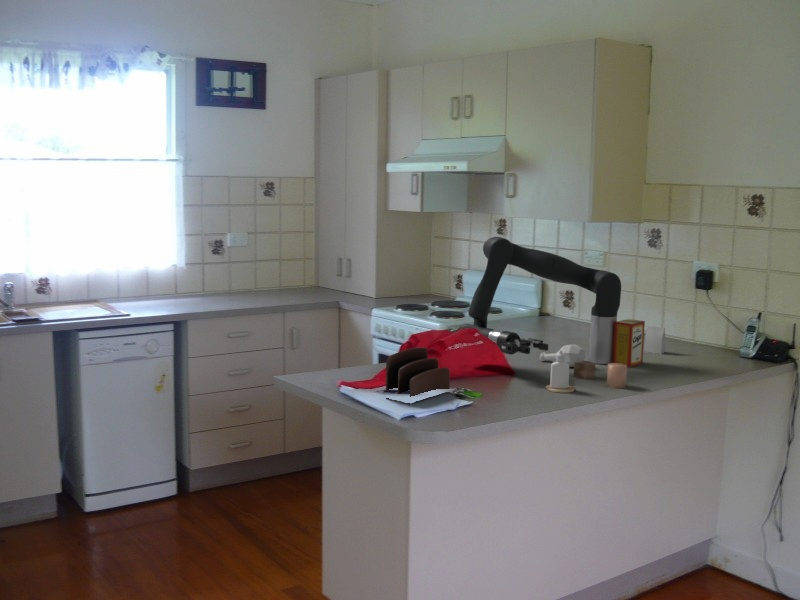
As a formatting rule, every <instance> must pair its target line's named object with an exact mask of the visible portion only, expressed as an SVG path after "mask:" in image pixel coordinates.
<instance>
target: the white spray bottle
mask: <svg viewBox="0 0 800 600" xmlns="http://www.w3.org/2000/svg"><path fill="white" fill-rule="evenodd" d="M560 350H562V354H564V362H566V363H568V364H569V368H571V367H572V368H574V362H578V361H583V360H584V361H585V358H586V352H585V350H584V349H583V348H582V347H580V346H579V345H578V344H566V345H563V346H562V347H561V348H560V349H559V350H558V351H556V352H555V353H546V351H543V352H540V354H539V357H538V359H539V360H540V362H541V361H543V362H546V361H550V360H551V361H553V360H557V354H559V351H560Z"/></svg>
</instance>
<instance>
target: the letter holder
mask: <svg viewBox="0 0 800 600" xmlns="http://www.w3.org/2000/svg"><path fill="white" fill-rule="evenodd" d="M385 366H386V367H385V391H386V390H389V389H393V388H398V394H399V393H402V392H405V391H408V390H410V397H411V396H415V395H418V394H420V393H424V392H428V391H431V390H436V389H450V388H451V387H450V369H449V368H448V367H439V359H438V358H435V357H431V358H428V348H427V347H425V346H424V347H423V346H419V347H410V348H408V349H403V350H401V351H398V352H395V353H393V354H390V355H389V356H387V359H386V365H385Z"/></svg>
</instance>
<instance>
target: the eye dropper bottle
mask: <svg viewBox="0 0 800 600" xmlns="http://www.w3.org/2000/svg"><path fill="white" fill-rule="evenodd" d="M559 350H560V349H559ZM559 350H558V351H559ZM549 378H550V380H549V382H550V383H549V385H550V386H551V388H556V389H565V388H568V386H570V385H569V384H570V383H569V382H570V381H569V380H570V367H569V364H568V363H566V362H564V354H562V350H560V351H559V354H557V360H556V361H553V362H552V363H551V365H550V377H549Z"/></svg>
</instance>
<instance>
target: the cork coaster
mask: <svg viewBox="0 0 800 600" xmlns="http://www.w3.org/2000/svg"><path fill="white" fill-rule="evenodd" d="M545 390H546V391H549V392H551V393H556V394H558V393H559V394H569V393H574V392H575V387H574V386H572V385H569V386H568V388H565V389H556V388H551V386H550V384H548V385H546V386H545Z"/></svg>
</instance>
